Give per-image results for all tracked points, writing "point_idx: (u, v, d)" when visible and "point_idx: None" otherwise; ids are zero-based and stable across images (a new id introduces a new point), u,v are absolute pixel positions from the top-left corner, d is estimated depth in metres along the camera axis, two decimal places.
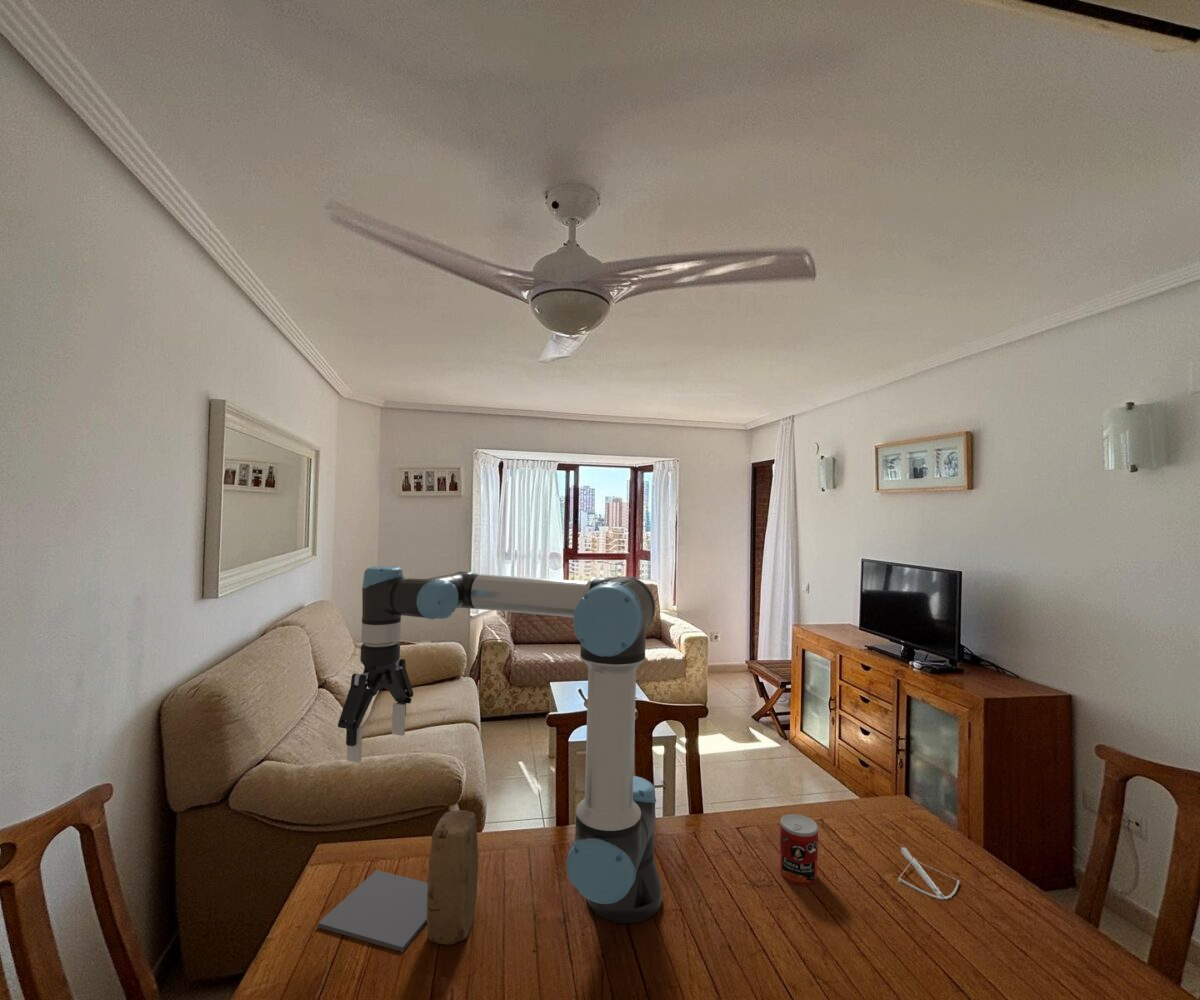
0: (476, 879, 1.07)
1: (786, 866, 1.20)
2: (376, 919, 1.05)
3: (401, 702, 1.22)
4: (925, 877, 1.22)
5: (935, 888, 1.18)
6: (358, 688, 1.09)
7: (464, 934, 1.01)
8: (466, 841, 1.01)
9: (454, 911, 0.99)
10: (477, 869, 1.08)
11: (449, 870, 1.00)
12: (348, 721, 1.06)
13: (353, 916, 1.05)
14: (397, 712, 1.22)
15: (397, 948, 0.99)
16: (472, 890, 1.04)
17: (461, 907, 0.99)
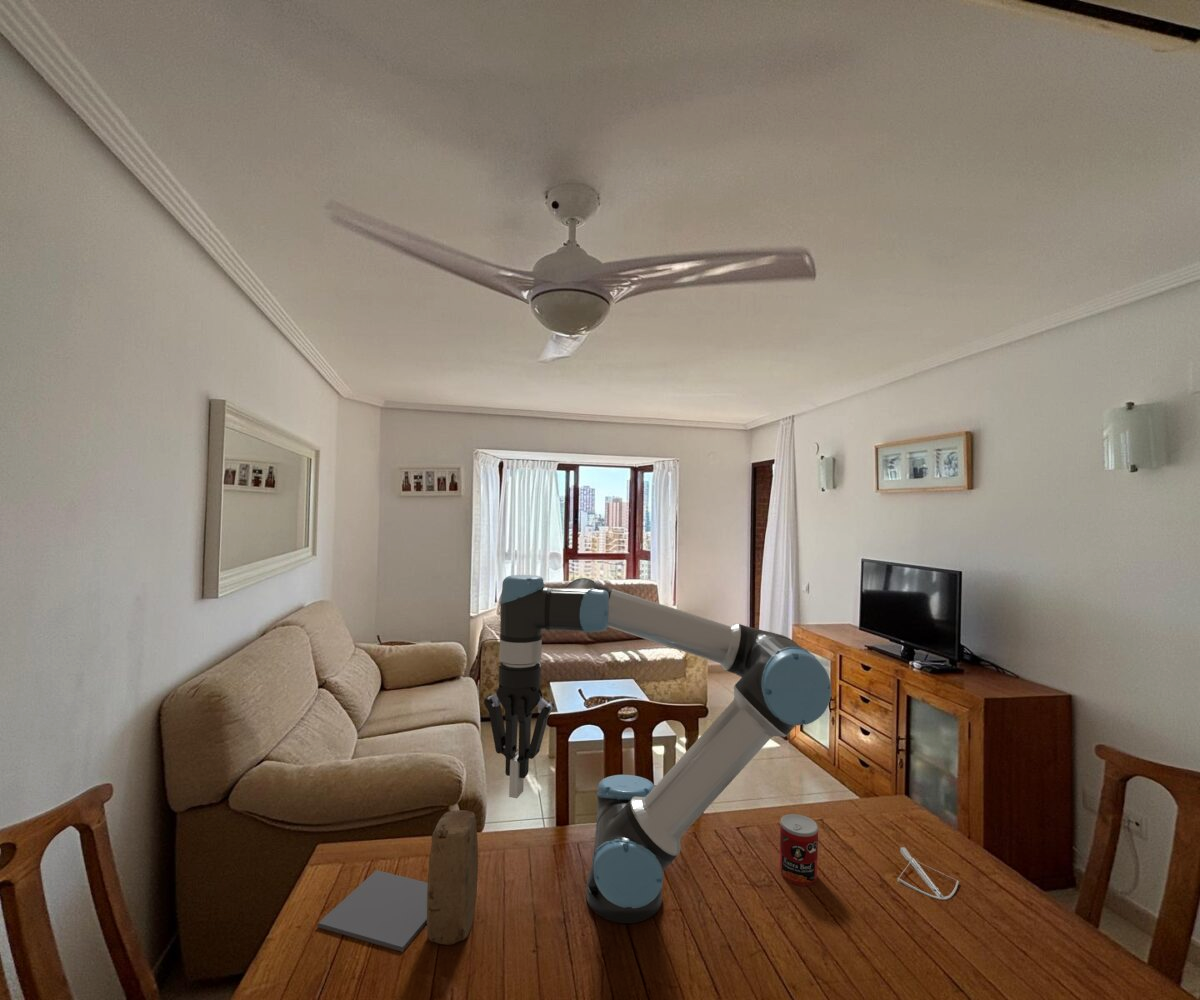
0: (476, 879, 1.07)
1: (786, 866, 1.20)
2: (376, 919, 1.05)
3: None
4: (924, 877, 1.22)
5: (934, 888, 1.18)
6: None
7: (464, 934, 1.01)
8: (466, 841, 1.01)
9: (454, 911, 0.99)
10: (477, 869, 1.08)
11: (449, 870, 1.00)
12: None
13: (353, 916, 1.05)
14: None
15: (397, 948, 0.99)
16: (472, 890, 1.04)
17: (461, 907, 0.99)
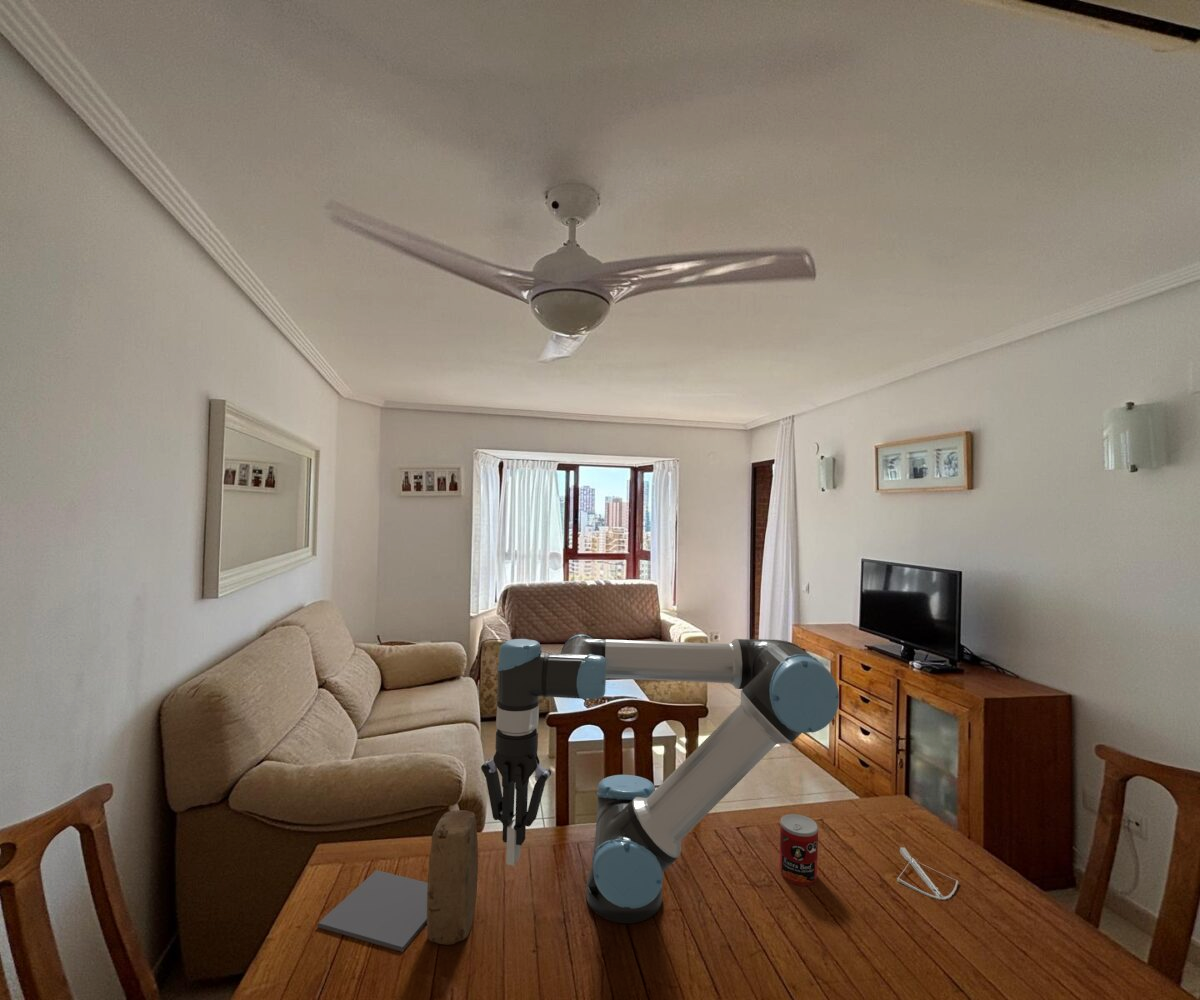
0: (476, 879, 1.07)
1: (786, 866, 1.20)
2: (376, 919, 1.05)
3: None
4: (924, 877, 1.22)
5: (934, 888, 1.18)
6: None
7: (464, 934, 1.01)
8: (466, 841, 1.01)
9: (454, 911, 0.99)
10: (477, 869, 1.08)
11: (449, 869, 1.00)
12: None
13: (353, 916, 1.05)
14: None
15: (397, 948, 0.99)
16: (472, 890, 1.04)
17: (461, 907, 0.99)
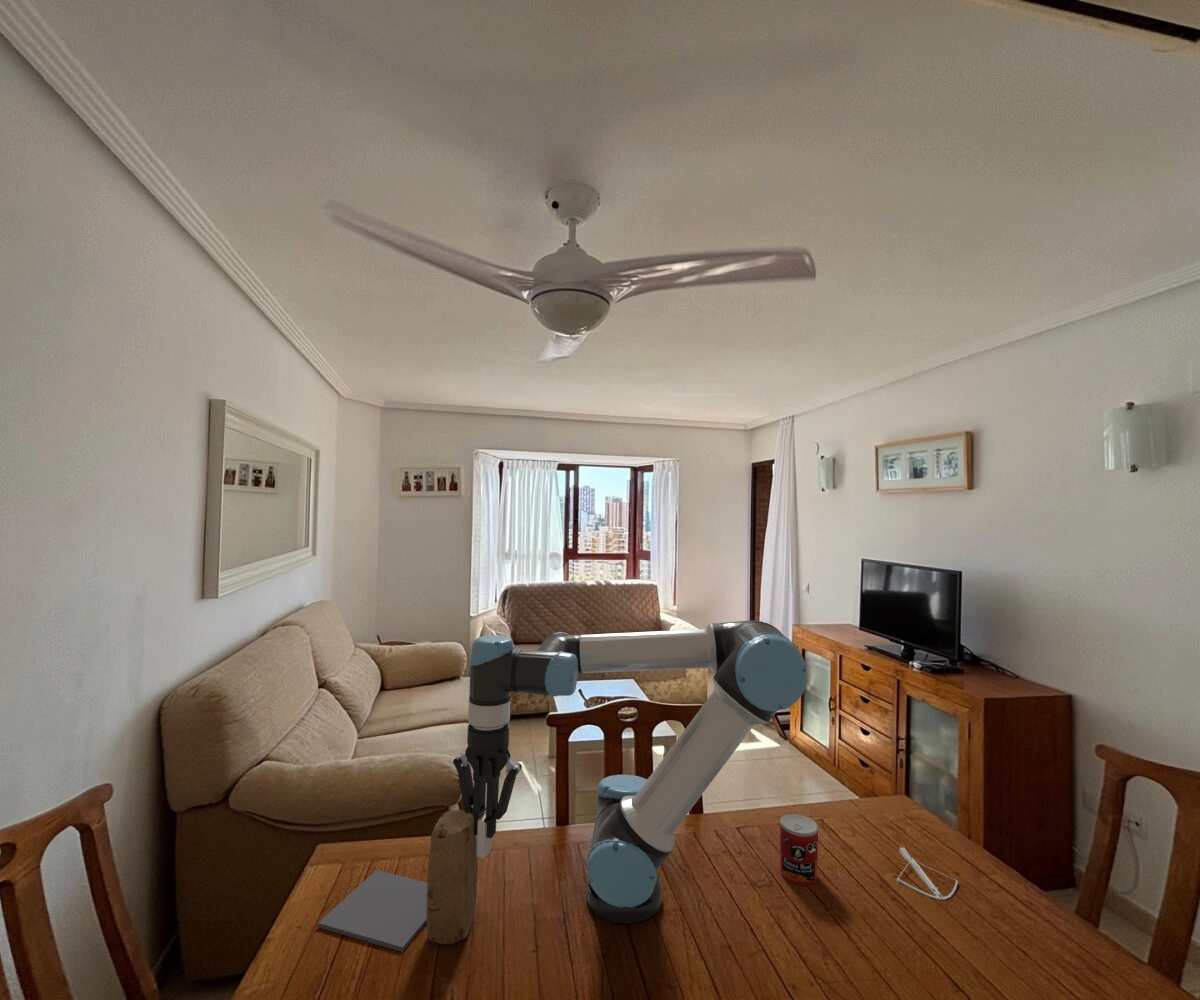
0: (476, 879, 1.07)
1: (786, 866, 1.20)
2: (376, 919, 1.05)
3: None
4: (924, 877, 1.22)
5: (934, 888, 1.18)
6: None
7: (464, 934, 1.01)
8: (465, 841, 1.01)
9: (454, 911, 0.99)
10: (476, 869, 1.08)
11: (448, 869, 1.00)
12: None
13: (353, 916, 1.05)
14: None
15: (397, 948, 0.99)
16: (472, 890, 1.04)
17: (461, 906, 0.99)
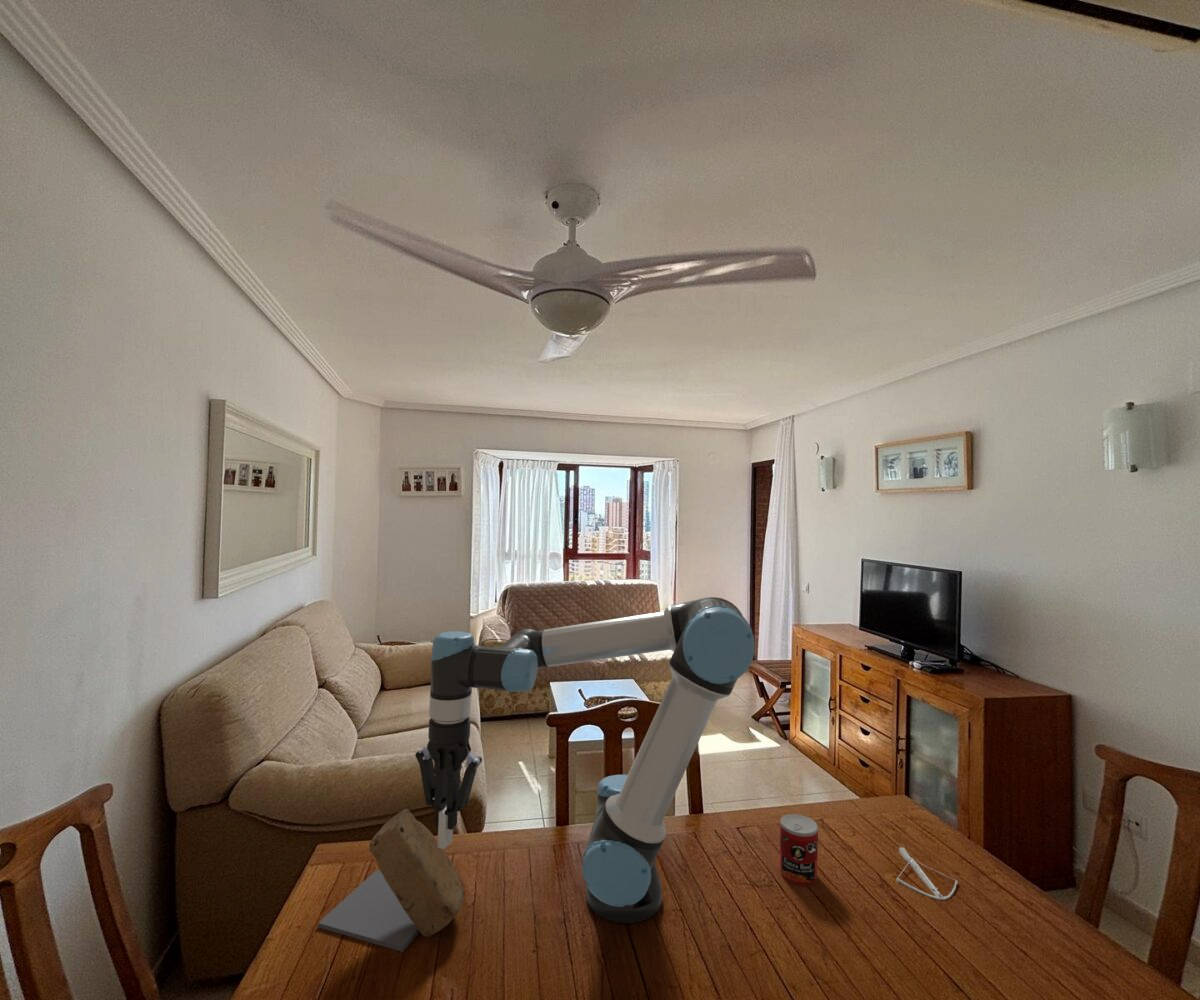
0: (447, 861, 1.08)
1: (786, 866, 1.20)
2: (376, 919, 1.05)
3: None
4: (923, 877, 1.22)
5: (933, 888, 1.18)
6: None
7: (452, 910, 1.01)
8: (398, 831, 1.02)
9: (426, 896, 1.00)
10: (443, 853, 1.09)
11: (398, 865, 1.01)
12: None
13: (353, 916, 1.05)
14: None
15: (397, 948, 0.99)
16: (442, 871, 1.05)
17: (430, 888, 1.00)
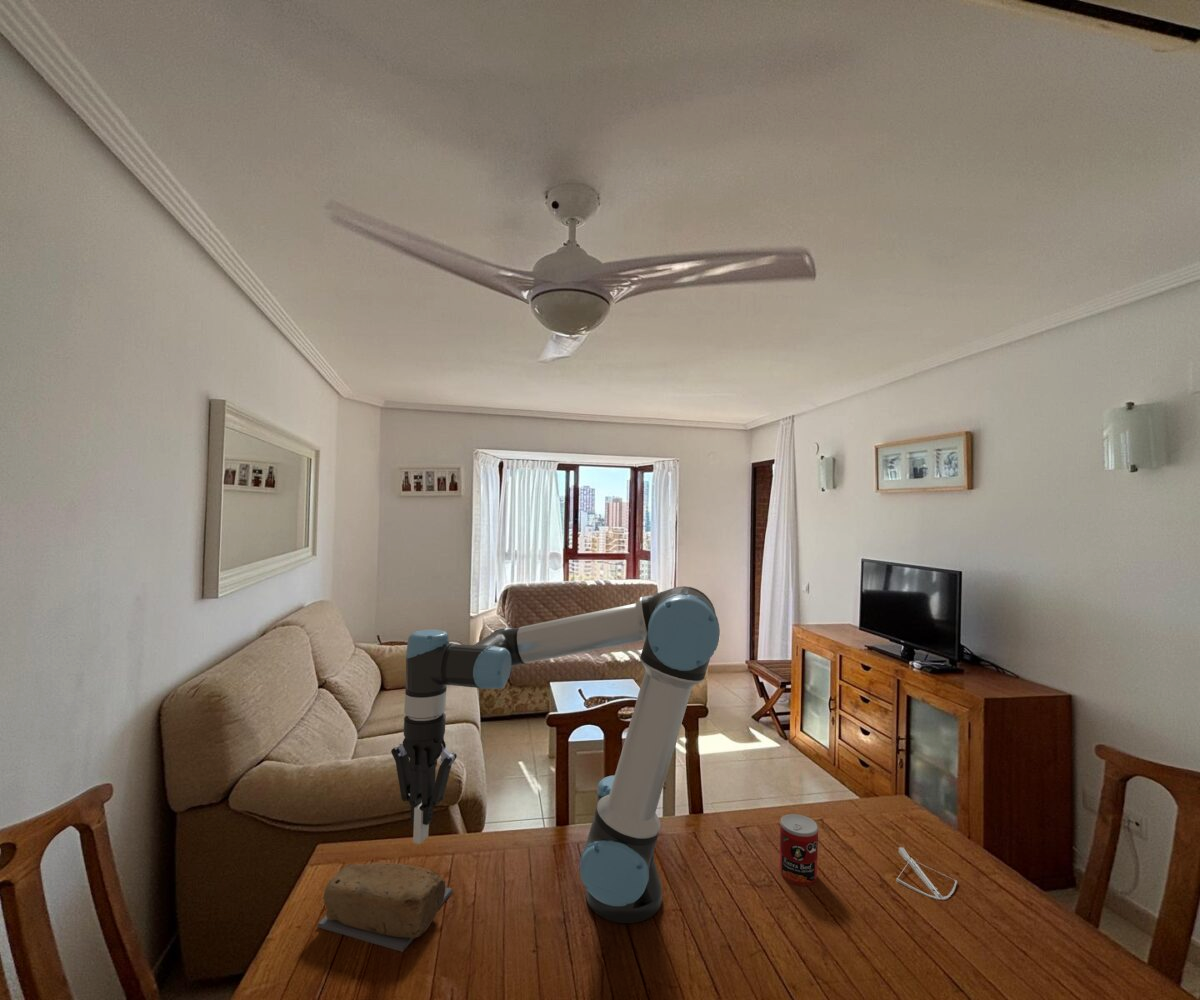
0: (406, 870, 1.08)
1: (786, 866, 1.20)
2: None
3: None
4: (923, 877, 1.22)
5: (933, 888, 1.18)
6: None
7: (415, 898, 1.00)
8: (333, 885, 1.04)
9: (385, 908, 1.00)
10: (402, 866, 1.09)
11: (350, 907, 1.02)
12: None
13: None
14: None
15: (397, 948, 0.99)
16: (398, 879, 1.05)
17: (382, 900, 1.00)
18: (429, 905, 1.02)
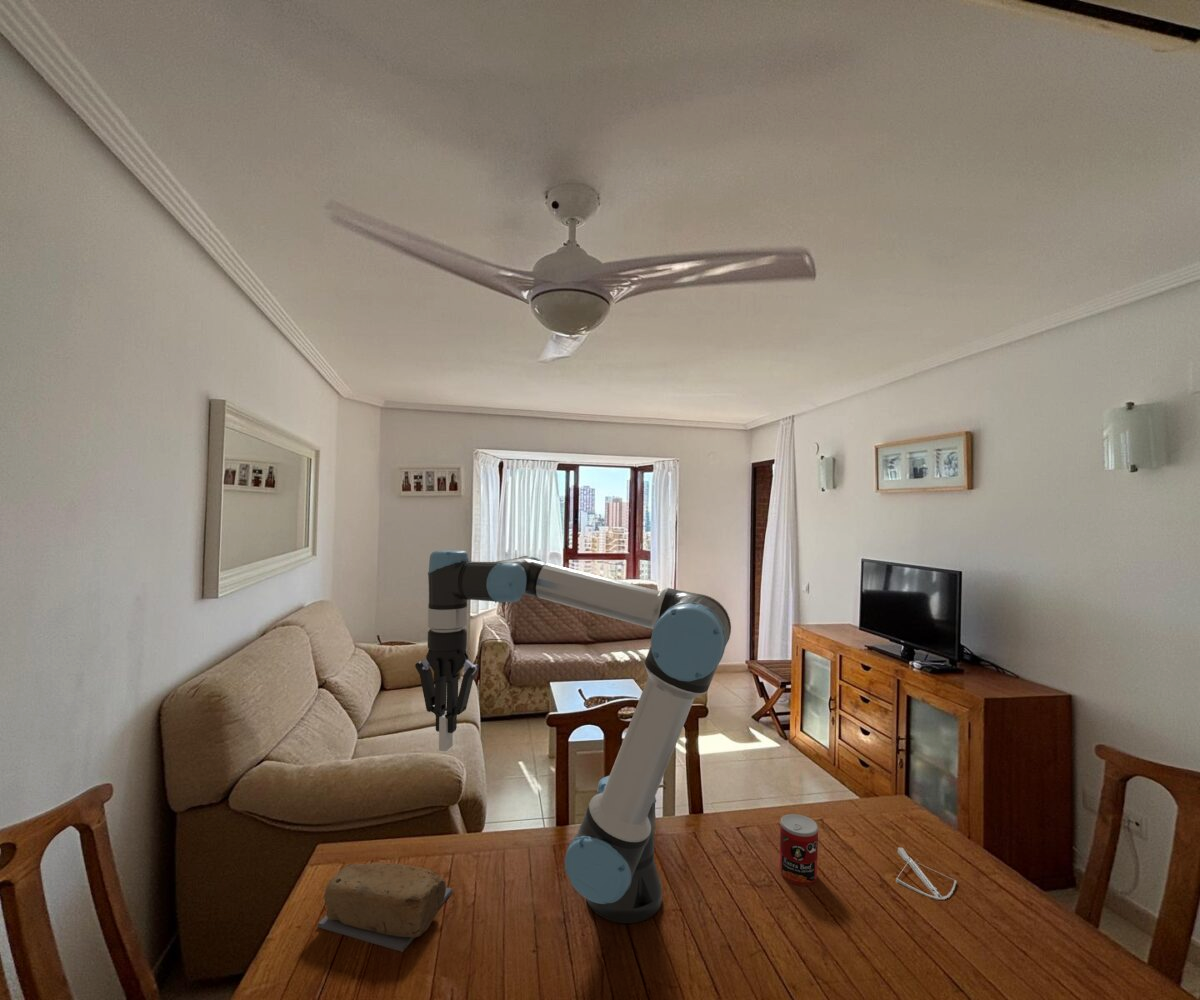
0: (407, 870, 1.08)
1: (786, 866, 1.20)
2: None
3: None
4: (922, 877, 1.21)
5: (932, 888, 1.18)
6: None
7: (416, 897, 1.00)
8: (333, 884, 1.04)
9: (385, 907, 1.00)
10: (402, 866, 1.09)
11: (350, 906, 1.02)
12: None
13: None
14: None
15: (397, 948, 0.99)
16: (398, 879, 1.05)
17: (383, 898, 1.00)
18: (430, 904, 1.02)
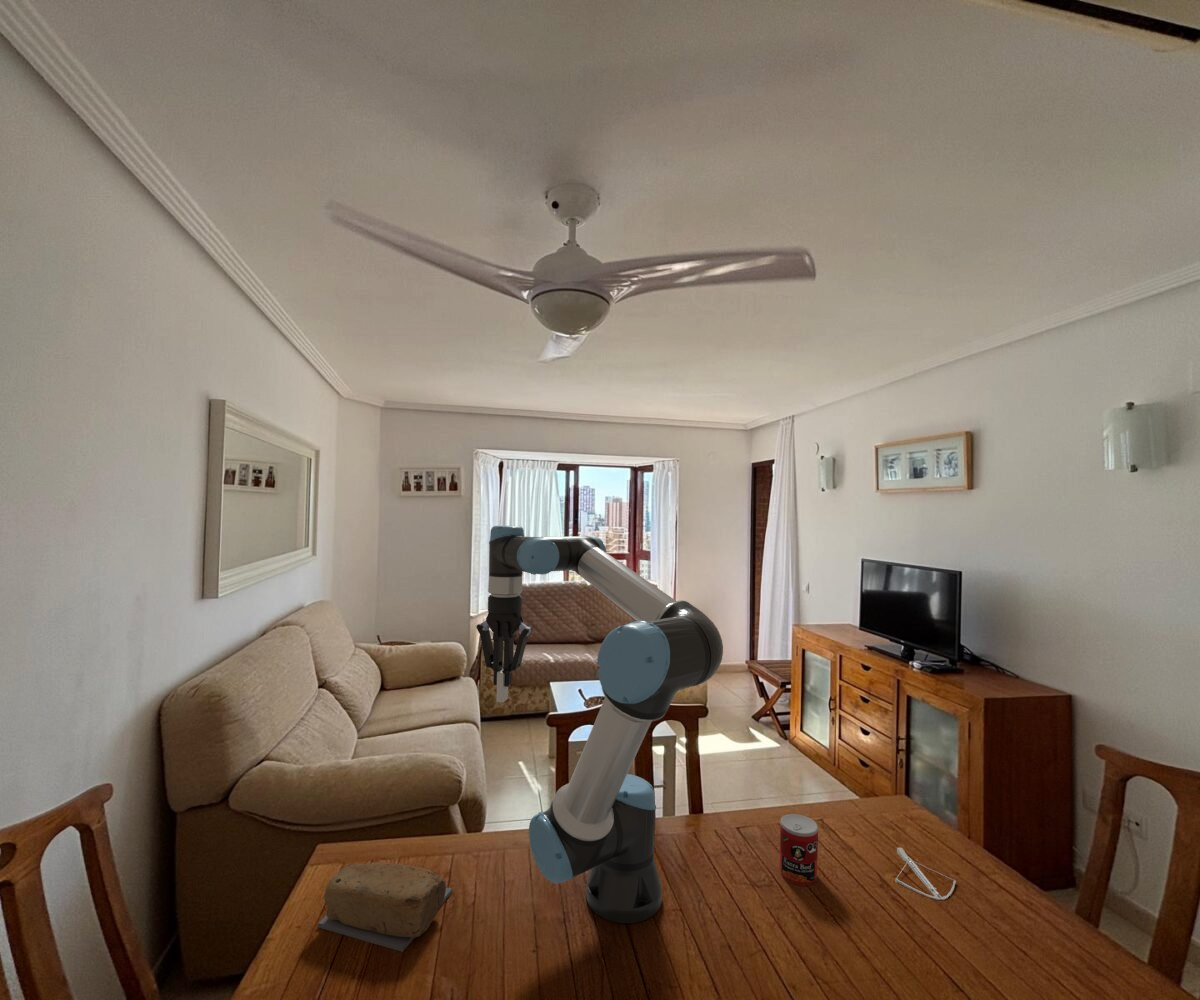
0: (407, 870, 1.08)
1: (786, 866, 1.20)
2: None
3: None
4: (922, 877, 1.21)
5: (932, 888, 1.18)
6: None
7: (416, 897, 1.00)
8: (333, 884, 1.04)
9: (385, 907, 1.00)
10: (402, 866, 1.09)
11: (350, 906, 1.02)
12: None
13: None
14: None
15: (397, 948, 0.99)
16: (398, 879, 1.05)
17: (383, 898, 1.00)
18: (430, 904, 1.02)
